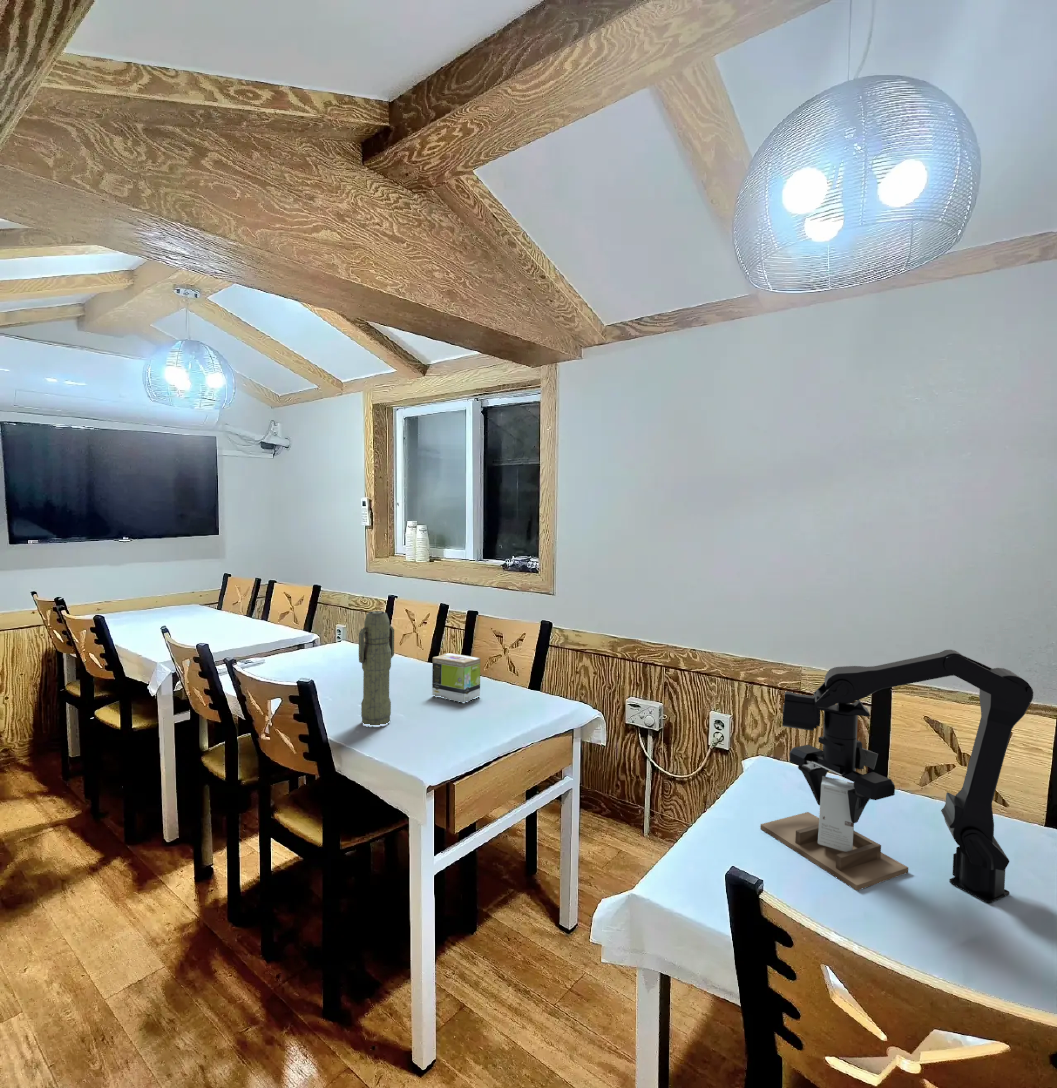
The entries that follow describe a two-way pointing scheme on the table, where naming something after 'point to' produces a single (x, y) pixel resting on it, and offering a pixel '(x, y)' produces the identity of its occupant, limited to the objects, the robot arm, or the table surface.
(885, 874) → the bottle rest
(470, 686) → the tea box
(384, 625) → the olive robed figurine
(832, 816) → the skincare box
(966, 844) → the robot arm
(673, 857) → the table surface
